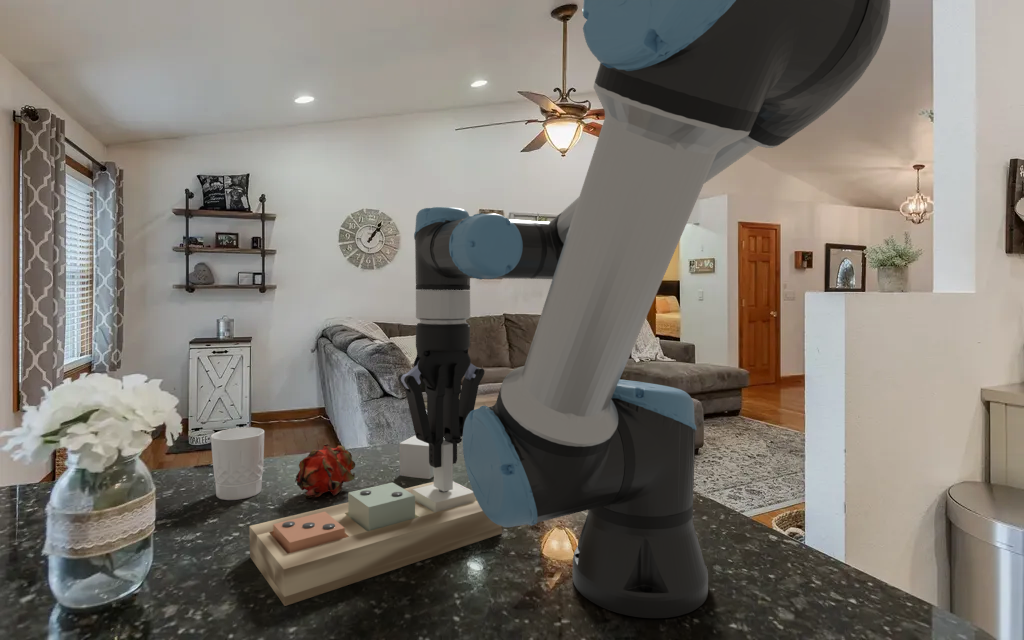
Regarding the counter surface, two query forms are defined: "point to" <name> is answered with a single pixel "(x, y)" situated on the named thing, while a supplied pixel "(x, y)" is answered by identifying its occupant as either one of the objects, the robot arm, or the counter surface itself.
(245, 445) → the white cup
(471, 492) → the key one
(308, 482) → the dragon fruit
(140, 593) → the counter surface
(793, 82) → the robot arm
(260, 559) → the key panel
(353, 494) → the key two
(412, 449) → the white cube
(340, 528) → the key three
